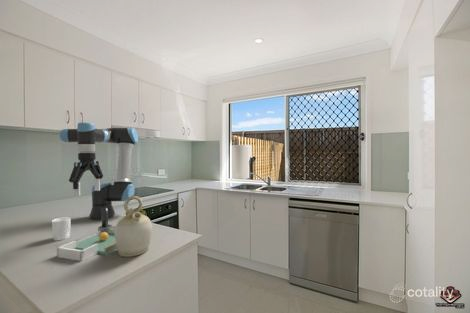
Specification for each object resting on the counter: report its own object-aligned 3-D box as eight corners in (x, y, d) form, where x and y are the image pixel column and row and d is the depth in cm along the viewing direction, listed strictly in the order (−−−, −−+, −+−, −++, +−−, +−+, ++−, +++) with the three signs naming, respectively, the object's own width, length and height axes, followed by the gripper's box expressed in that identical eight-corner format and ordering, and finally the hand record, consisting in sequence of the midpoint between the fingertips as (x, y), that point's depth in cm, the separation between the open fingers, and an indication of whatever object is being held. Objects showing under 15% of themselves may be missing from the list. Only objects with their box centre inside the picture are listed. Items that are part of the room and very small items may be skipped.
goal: (74, 249, 99) (74, 240, 99) (98, 252, 95) (97, 244, 95) (57, 256, 92) (56, 247, 92) (81, 261, 88) (81, 251, 88)
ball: (104, 238, 108) (103, 230, 108) (110, 239, 107) (110, 231, 107) (96, 241, 105) (96, 233, 104) (103, 242, 103) (103, 234, 103)
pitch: (107, 231, 122) (107, 226, 122) (142, 235, 115) (142, 230, 115) (66, 248, 100) (65, 242, 100) (106, 254, 93) (106, 248, 93)
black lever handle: (106, 228, 120) (105, 206, 120) (125, 231, 116) (125, 208, 116) (98, 231, 115) (97, 208, 115) (118, 234, 111) (117, 210, 111)
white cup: (69, 234, 118) (68, 216, 118) (73, 237, 113) (72, 218, 113) (50, 238, 112) (50, 219, 112) (54, 242, 107) (53, 222, 107)
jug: (151, 255, 92) (149, 197, 92) (110, 261, 88) (109, 200, 87) (153, 241, 107) (152, 191, 106) (119, 245, 102) (118, 193, 102)
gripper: (97, 152, 125) (98, 188, 125) (58, 152, 100) (59, 197, 100) (109, 152, 124) (110, 188, 124) (73, 152, 99) (74, 198, 100)
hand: (87, 192), depth 112 cm, fingers open, 13 cm apart
